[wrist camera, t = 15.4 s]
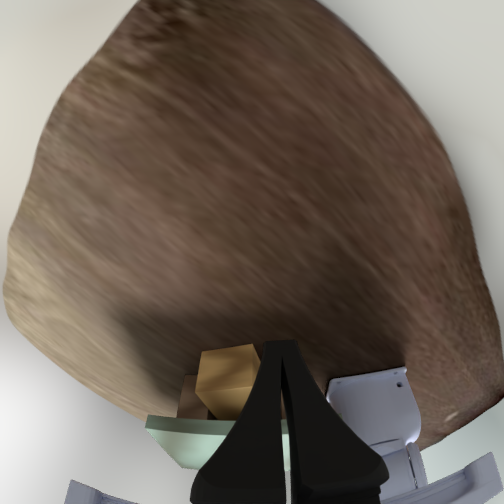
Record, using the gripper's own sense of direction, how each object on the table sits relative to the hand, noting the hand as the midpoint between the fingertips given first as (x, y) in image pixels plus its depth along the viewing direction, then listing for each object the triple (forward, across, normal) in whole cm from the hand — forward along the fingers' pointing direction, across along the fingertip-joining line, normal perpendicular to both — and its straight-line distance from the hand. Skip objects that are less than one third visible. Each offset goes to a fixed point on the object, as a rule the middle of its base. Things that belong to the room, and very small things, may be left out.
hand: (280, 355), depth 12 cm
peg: (+10, +3, +16) cm, 19 cm away
